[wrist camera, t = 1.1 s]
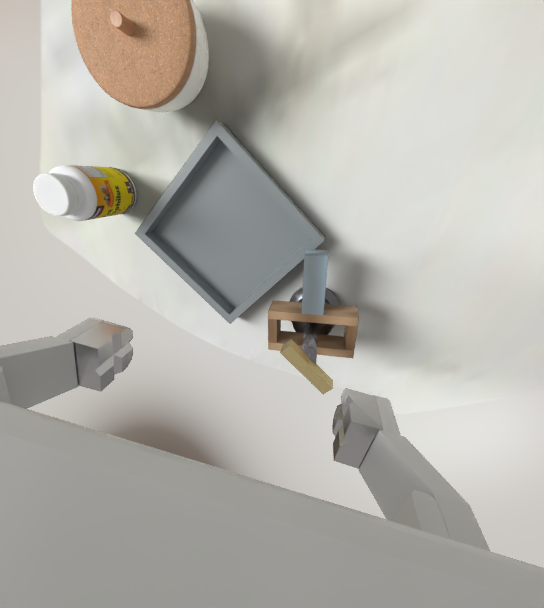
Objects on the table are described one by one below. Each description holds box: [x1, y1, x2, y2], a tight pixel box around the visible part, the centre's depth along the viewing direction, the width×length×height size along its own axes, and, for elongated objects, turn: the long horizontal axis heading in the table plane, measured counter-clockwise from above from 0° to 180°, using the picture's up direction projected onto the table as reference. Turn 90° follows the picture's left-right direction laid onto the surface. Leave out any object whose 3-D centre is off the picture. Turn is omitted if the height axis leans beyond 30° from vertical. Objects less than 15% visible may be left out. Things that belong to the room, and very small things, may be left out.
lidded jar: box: [72, 0, 209, 112], centre depth 26 cm, size 11×11×9 cm
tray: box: [135, 120, 325, 324], centre depth 35 cm, size 17×17×2 cm
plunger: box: [280, 287, 340, 394], centre depth 32 cm, size 7×7×14 cm
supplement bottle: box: [33, 165, 137, 221], centre depth 32 cm, size 6×6×10 cm
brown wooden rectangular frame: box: [268, 249, 359, 358], centre depth 32 cm, size 10×12×3 cm
